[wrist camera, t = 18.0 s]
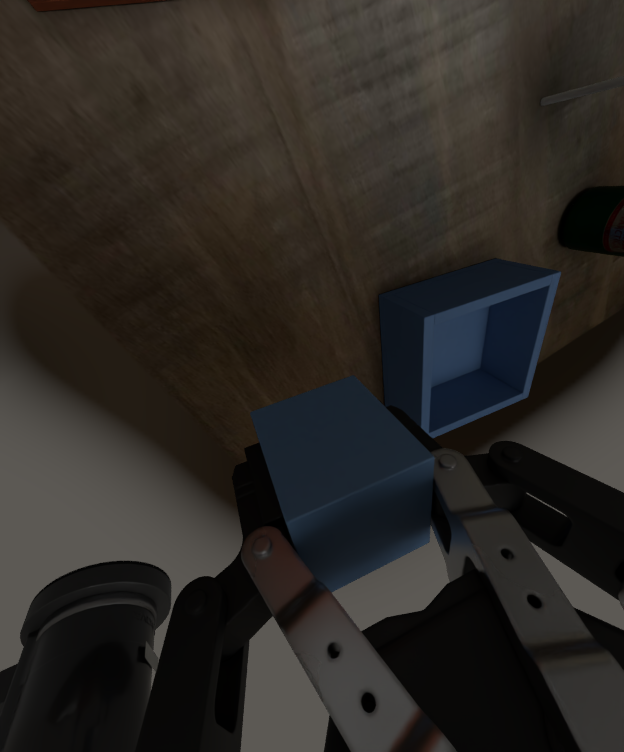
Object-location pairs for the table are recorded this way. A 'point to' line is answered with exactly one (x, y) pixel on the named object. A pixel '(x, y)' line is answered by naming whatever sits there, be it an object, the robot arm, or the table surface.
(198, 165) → the table surface
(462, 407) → the blue bin
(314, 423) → the blue block
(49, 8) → the terracotta bin
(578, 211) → the soda can
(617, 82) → the lollipop
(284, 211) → the table surface
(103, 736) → the robot arm
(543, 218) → the table surface
